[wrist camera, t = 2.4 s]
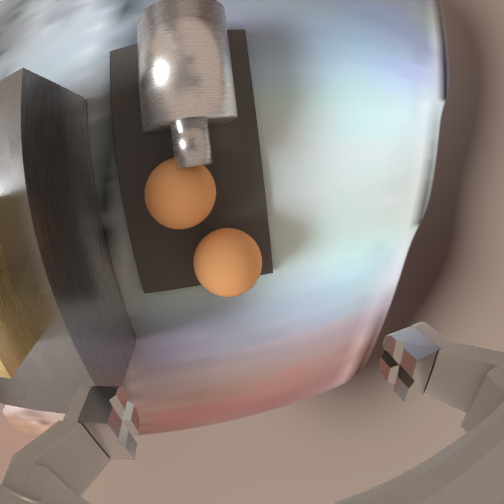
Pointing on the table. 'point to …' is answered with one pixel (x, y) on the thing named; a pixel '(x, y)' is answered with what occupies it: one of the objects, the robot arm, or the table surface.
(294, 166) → the table surface
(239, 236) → the bead
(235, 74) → the mat
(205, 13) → the spout can
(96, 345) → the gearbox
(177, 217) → the bead
